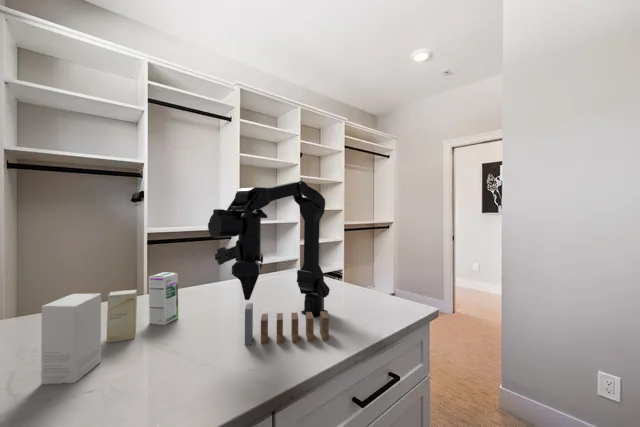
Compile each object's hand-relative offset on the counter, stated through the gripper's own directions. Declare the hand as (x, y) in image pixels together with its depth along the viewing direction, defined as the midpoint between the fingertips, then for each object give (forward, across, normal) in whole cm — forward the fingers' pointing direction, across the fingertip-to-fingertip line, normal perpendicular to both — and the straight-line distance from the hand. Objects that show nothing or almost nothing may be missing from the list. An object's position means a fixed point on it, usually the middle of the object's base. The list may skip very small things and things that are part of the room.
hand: (249, 295), depth 76 cm
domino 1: (+12, 0, +4) cm, 13 cm away
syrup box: (+12, -17, -27) cm, 34 cm away
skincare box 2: (+12, -6, -34) cm, 36 cm away
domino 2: (+12, 0, +8) cm, 14 cm away
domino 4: (+12, 0, +16) cm, 20 cm away
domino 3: (+12, 0, +12) cm, 17 cm away
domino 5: (+12, 0, +20) cm, 23 cm away
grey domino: (+12, 0, 0) cm, 12 cm away
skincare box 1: (+12, +11, -34) cm, 38 cm away
